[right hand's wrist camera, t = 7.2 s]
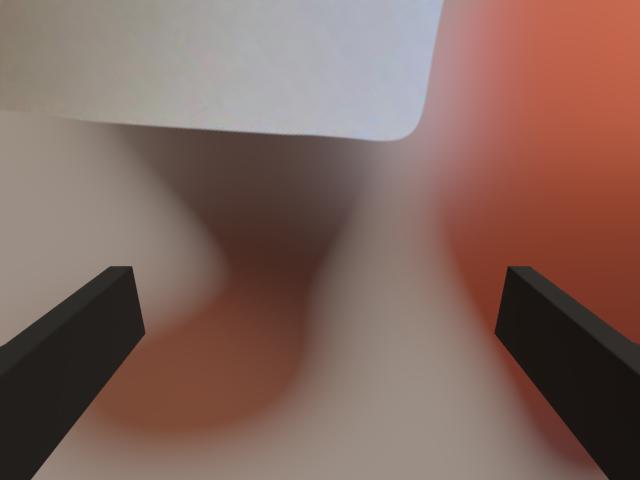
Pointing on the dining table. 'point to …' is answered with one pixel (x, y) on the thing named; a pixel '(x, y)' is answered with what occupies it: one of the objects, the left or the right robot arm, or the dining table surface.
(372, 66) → the dining table surface
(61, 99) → the dining table surface
